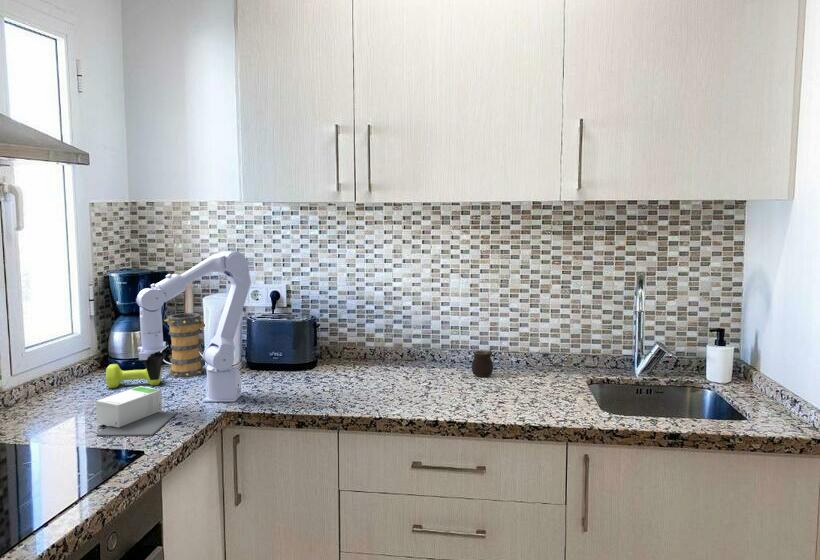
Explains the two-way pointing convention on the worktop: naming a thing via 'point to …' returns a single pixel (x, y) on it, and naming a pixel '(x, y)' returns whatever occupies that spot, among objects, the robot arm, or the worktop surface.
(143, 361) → the robot arm
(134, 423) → the charcoal rubber mat
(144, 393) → the skincare box
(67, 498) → the worktop surface
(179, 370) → the mug
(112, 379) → the dumbbell
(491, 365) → the mate gourd
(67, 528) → the worktop surface
